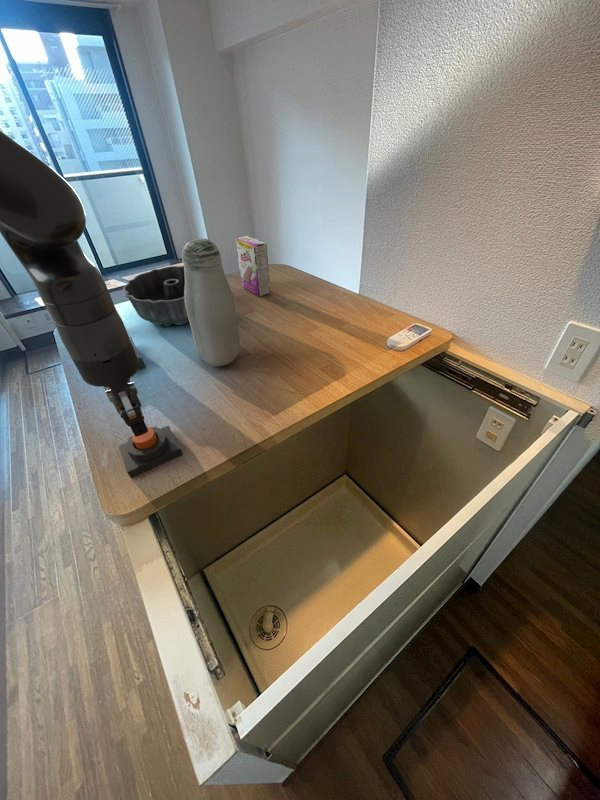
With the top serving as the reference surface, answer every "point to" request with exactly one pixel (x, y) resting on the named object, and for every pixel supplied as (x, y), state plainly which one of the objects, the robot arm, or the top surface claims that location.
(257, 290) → the candy bar box
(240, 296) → the top surface
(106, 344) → the robot arm
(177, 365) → the top surface
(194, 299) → the off-white tall tapered cylinder
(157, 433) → the button block
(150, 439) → the button
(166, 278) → the bundt pan
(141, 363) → the panel
